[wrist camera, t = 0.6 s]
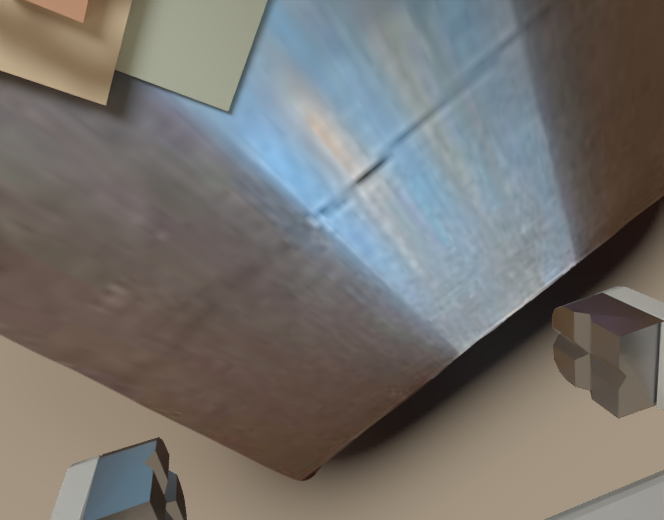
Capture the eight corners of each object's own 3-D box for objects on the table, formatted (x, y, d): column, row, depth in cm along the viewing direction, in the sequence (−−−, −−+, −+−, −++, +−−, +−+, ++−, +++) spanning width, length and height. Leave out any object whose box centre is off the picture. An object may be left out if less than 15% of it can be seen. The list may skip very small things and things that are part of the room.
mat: (162, -126, 39) (163, -126, 39) (285, -55, 45) (287, -55, 44) (114, 68, 46) (114, 69, 45) (227, 109, 51) (228, 111, 50)
